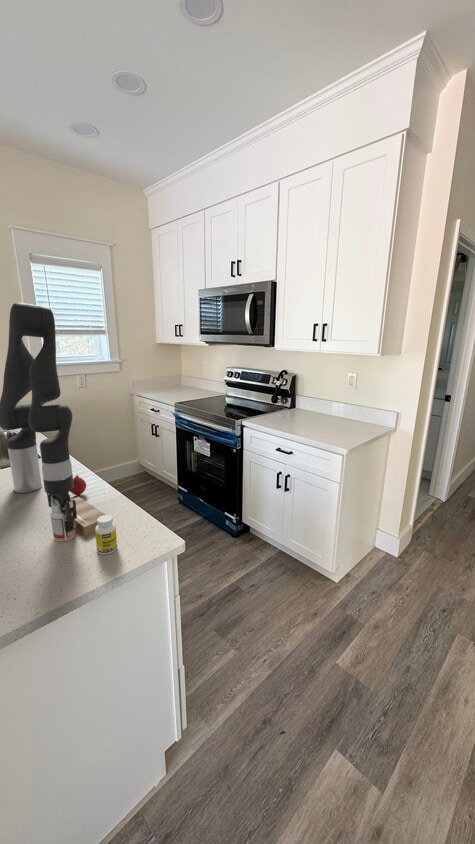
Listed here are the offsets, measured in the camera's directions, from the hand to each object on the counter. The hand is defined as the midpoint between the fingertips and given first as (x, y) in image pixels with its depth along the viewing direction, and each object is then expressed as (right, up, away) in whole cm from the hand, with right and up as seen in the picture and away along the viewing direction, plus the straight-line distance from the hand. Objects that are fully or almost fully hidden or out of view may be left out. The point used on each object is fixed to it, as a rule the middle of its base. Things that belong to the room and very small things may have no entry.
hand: (64, 525), depth 104 cm
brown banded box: (+1, -1, +11) cm, 11 cm away
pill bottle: (0, -4, +1) cm, 4 cm away
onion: (-8, +3, +26) cm, 28 cm away
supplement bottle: (+15, -5, -5) cm, 16 cm away
